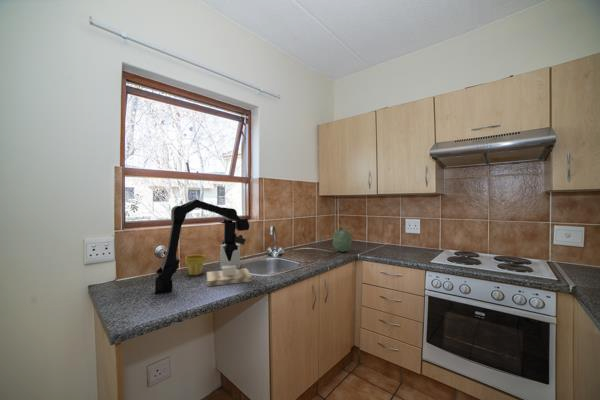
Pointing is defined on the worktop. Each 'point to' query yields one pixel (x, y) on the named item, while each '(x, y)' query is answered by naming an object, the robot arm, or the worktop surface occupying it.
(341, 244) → the cabbage
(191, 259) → the plant pot
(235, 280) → the socket board
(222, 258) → the supplement box
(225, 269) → the plug
